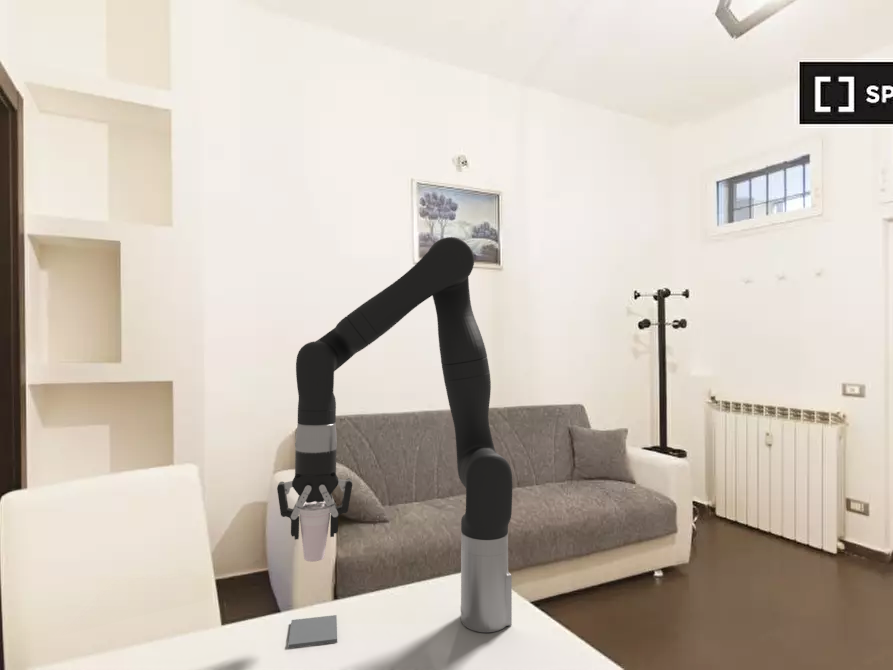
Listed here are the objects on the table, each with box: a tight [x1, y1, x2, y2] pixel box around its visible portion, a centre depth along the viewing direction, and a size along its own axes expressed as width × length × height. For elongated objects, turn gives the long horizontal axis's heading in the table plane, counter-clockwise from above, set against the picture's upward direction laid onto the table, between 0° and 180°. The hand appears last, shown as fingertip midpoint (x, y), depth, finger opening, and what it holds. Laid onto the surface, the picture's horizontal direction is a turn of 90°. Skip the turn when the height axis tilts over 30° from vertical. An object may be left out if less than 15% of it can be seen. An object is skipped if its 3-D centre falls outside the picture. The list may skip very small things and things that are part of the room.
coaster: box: [287, 614, 338, 649], centre depth 96 cm, size 8×8×1 cm
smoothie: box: [299, 501, 331, 563], centre depth 97 cm, size 6×6×14 cm
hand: (314, 536), depth 96 cm, fingers closed on smoothie, 6 cm apart
